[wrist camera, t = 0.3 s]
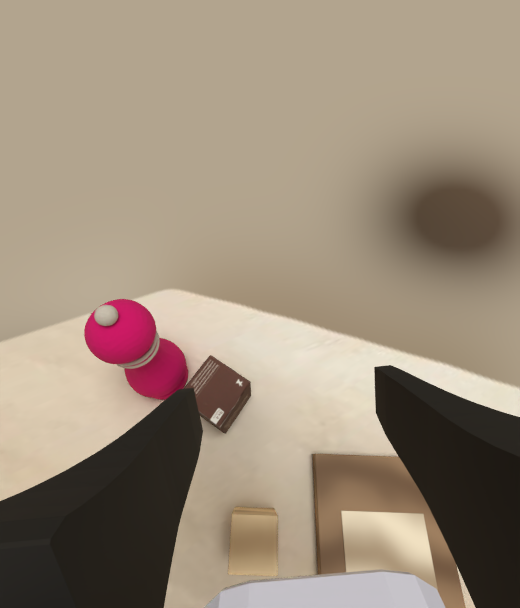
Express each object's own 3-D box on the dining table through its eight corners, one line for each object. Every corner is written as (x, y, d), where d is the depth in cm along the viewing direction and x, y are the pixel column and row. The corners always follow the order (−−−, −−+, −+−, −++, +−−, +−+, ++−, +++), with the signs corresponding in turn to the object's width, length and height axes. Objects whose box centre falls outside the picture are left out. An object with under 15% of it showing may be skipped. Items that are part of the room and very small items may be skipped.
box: (217, 370, 42) (210, 352, 36) (252, 395, 41) (252, 381, 34) (189, 407, 40) (176, 395, 33) (225, 435, 38) (219, 428, 32)
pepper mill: (170, 342, 44) (116, 259, 26) (202, 376, 42) (165, 310, 24) (128, 376, 41) (37, 310, 24) (160, 415, 39) (84, 373, 22)
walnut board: (474, 701, 28) (491, 719, 26) (323, 696, 28) (328, 713, 26) (424, 458, 37) (433, 458, 35) (312, 454, 37) (315, 453, 35)
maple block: (273, 558, 32) (277, 576, 27) (231, 556, 32) (228, 574, 27) (273, 508, 35) (277, 515, 29) (235, 507, 35) (231, 514, 29)
